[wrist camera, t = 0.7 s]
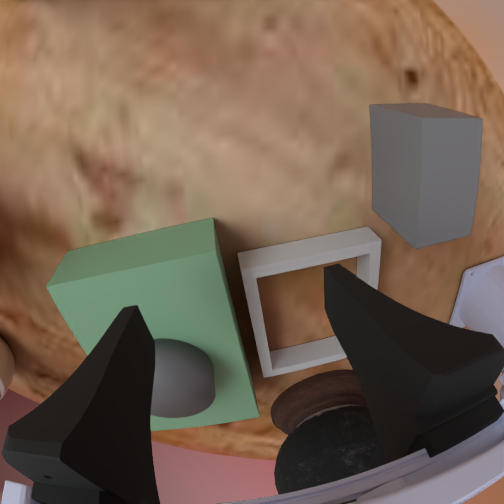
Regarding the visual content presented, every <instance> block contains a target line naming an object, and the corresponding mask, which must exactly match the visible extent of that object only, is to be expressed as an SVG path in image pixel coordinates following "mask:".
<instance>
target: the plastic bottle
mask: <svg viewBox="0 0 504 504" xmlns="http://www.w3.org/2000/svg"><path fill="white" fill-rule="evenodd" d="M14 369H15V364H14V359H13V355H12V352H11V350H10V348H9V347H8V345H7V344H6V343H5V341H4V340H3V339H2V338H1V337H0V399H1V398H2V397H3V396H4V394H5V392H6V391H7V389H8V388H9V386H10V384H11V383H12V379H13V374H14Z"/></svg>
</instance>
